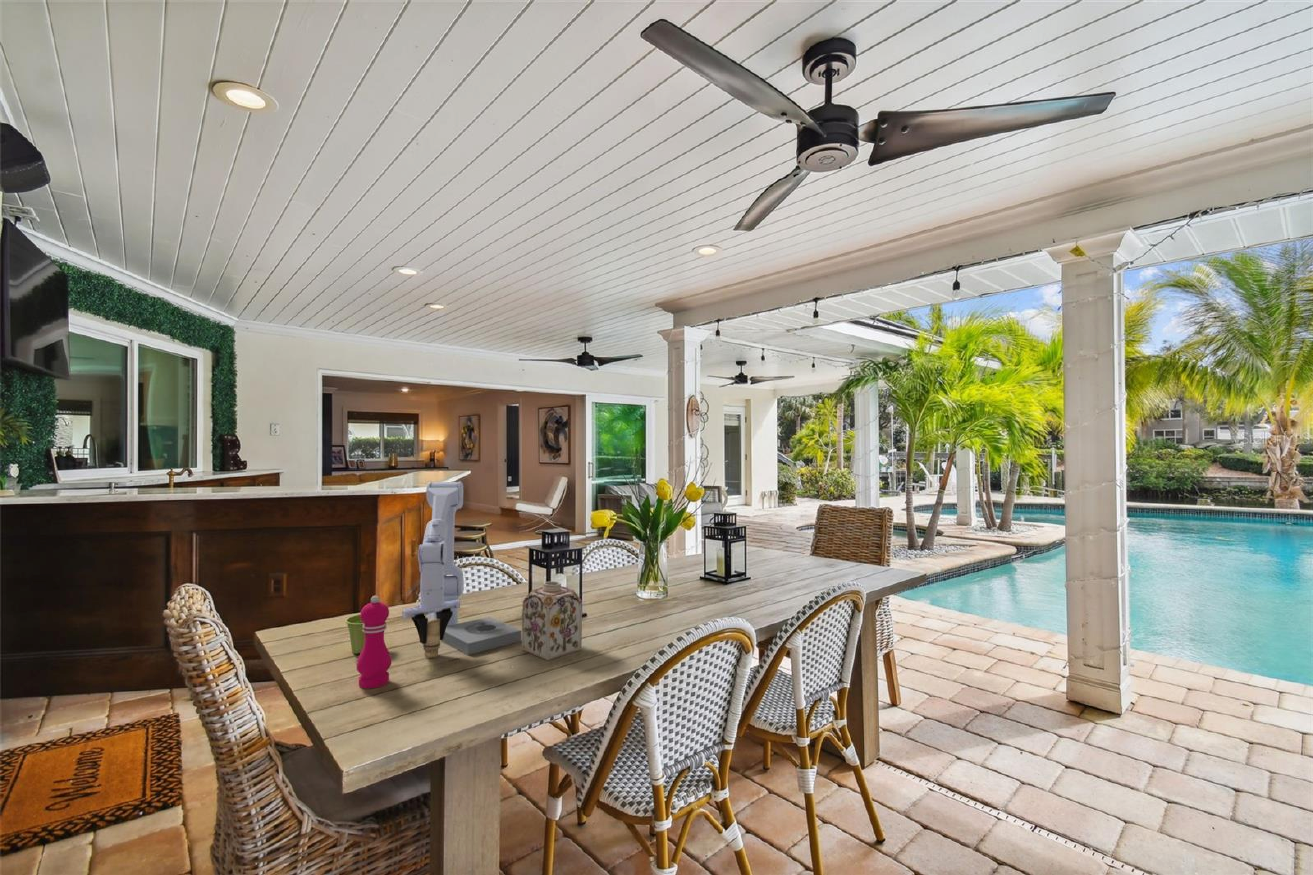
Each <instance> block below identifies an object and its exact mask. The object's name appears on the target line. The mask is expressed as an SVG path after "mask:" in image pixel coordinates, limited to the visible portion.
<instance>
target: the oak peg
mask: <svg viewBox="0 0 1313 875" xmlns="http://www.w3.org/2000/svg"><path fill="white" fill-rule="evenodd" d="M427 619H428V618H427ZM422 646H423V647H422V648H423V650H424V657H425V658H427V659H432V658H436V657H438V656H439V649H440V648H441V640H440V619H428V623H427V629H426V644H422Z"/></svg>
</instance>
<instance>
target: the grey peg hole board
mask: <svg viewBox="0 0 1313 875" xmlns="http://www.w3.org/2000/svg"><path fill="white" fill-rule="evenodd" d="M440 642H443V643H445V644H446V645H448V646H449V647H452V648H454V649H455V650H457V651H460V652H462V653H463V654H465V655H466V656H470V655H473V654H478V653H481V652H485V650H486V651H489V650H493V649H497V648H500V646H501V647H504V646H508V645H512V644H515V643H519V642H520V643H521V642H522V629H519V628H517V627H515V626H512V625H510V624H507V623H505V622H503V621H500V620H498V619H495V618H493V617H491V616H487V617H481V618H477V619H473V620H469V621H464V622H458V624H454V625H450V626H447V627H446V630H445V634H444V638H443V640H440Z"/></svg>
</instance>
